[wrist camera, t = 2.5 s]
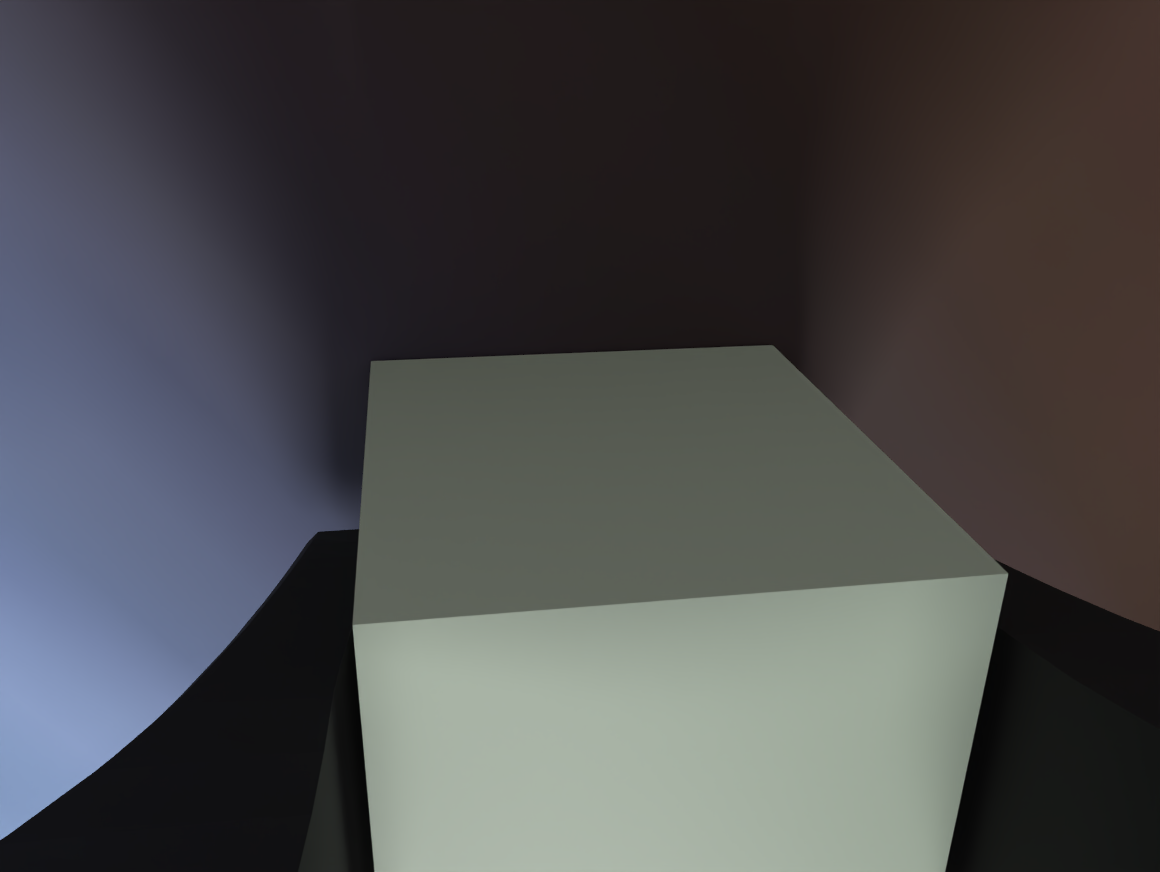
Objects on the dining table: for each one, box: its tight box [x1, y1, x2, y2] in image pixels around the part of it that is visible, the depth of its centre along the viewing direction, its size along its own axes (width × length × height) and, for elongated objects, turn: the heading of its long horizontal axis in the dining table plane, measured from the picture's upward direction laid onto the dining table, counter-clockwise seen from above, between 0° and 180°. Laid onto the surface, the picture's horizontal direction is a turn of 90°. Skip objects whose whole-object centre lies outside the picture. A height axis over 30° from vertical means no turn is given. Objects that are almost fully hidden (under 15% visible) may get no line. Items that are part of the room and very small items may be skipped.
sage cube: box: [353, 345, 1008, 872], centre depth 10 cm, size 4×4×5 cm
